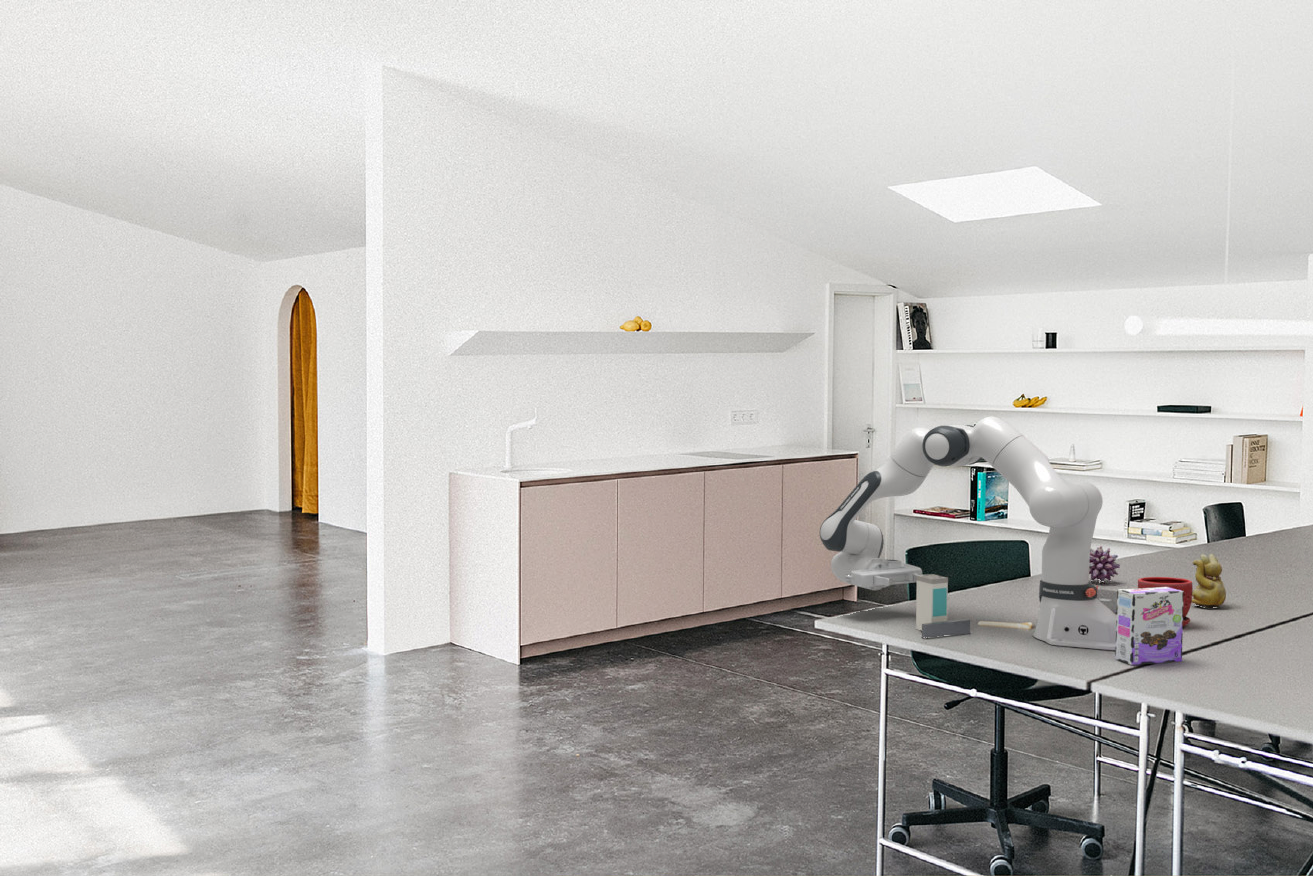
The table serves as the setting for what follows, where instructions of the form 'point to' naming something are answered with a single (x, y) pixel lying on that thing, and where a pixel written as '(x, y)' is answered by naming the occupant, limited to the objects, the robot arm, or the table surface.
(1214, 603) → the decorative figurine
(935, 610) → the carton
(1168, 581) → the plant pot
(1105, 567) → the purple spiky ball
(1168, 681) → the table surface
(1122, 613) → the candy box
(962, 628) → the rail
